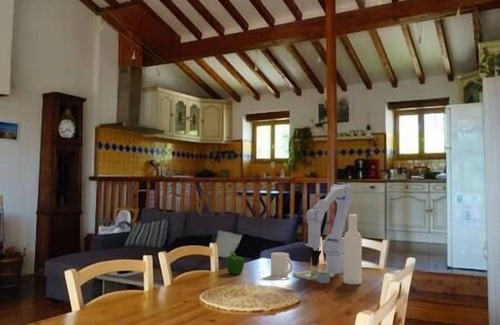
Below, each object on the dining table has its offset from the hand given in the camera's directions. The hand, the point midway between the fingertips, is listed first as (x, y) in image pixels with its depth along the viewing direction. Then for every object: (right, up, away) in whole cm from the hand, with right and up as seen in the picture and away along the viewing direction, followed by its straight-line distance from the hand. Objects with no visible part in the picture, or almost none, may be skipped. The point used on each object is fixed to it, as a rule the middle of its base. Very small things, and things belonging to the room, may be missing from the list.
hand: (314, 264), depth 213 cm
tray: (0, -6, 0) cm, 6 cm away
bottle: (+15, -6, -13) cm, 21 cm away
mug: (-15, -6, 0) cm, 16 cm away
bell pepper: (-37, -6, +4) cm, 38 cm away
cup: (+2, -5, -12) cm, 14 cm away
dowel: (0, -5, 0) cm, 5 cm away
